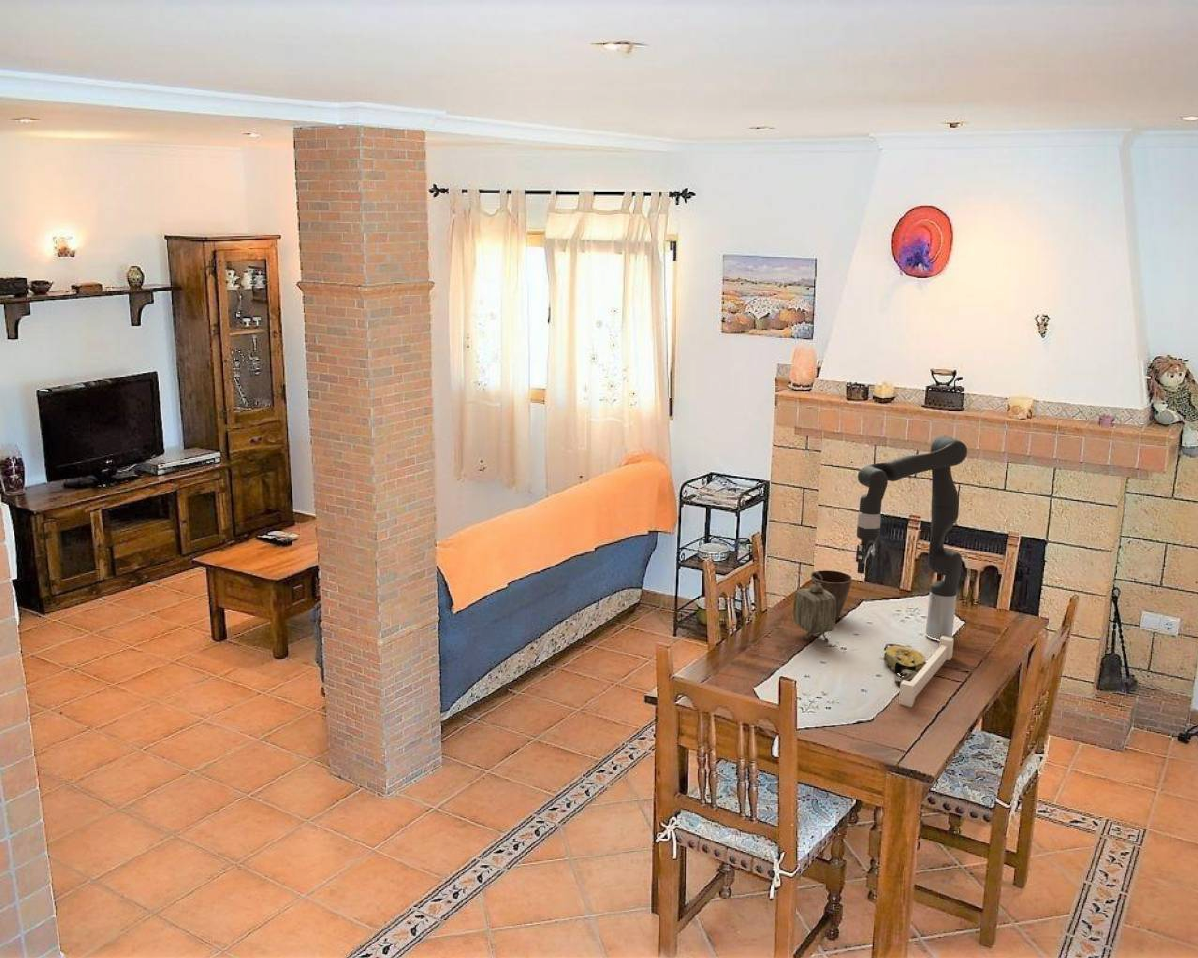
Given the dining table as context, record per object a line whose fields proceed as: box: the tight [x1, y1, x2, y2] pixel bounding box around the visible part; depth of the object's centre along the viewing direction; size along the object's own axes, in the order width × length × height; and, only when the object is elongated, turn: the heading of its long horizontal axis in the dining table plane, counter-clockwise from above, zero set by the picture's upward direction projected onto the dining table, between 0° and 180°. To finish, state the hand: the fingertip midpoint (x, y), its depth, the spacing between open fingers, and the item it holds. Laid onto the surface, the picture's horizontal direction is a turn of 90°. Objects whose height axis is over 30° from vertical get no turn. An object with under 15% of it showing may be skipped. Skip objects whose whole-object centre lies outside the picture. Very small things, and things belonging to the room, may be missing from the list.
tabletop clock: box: [792, 570, 836, 643], centre depth 392 cm, size 14×9×25 cm, turn 22°
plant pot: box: [811, 570, 852, 620], centre depth 416 cm, size 15×15×16 cm
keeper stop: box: [898, 636, 955, 708], centre depth 362 cm, size 48×4×7 cm, turn 148°
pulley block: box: [883, 643, 927, 686], centre depth 368 cm, size 14×6×30 cm
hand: (864, 569), depth 377 cm, fingers open, 8 cm apart
